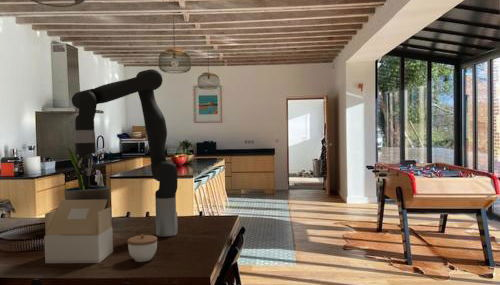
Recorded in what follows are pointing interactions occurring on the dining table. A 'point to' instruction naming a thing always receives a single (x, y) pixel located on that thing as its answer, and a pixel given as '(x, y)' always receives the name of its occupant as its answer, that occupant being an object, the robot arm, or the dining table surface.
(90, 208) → the flap
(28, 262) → the dining table surface
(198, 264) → the dining table surface
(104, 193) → the potted plant
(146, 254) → the lidded jar
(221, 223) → the dining table surface
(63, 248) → the carton
